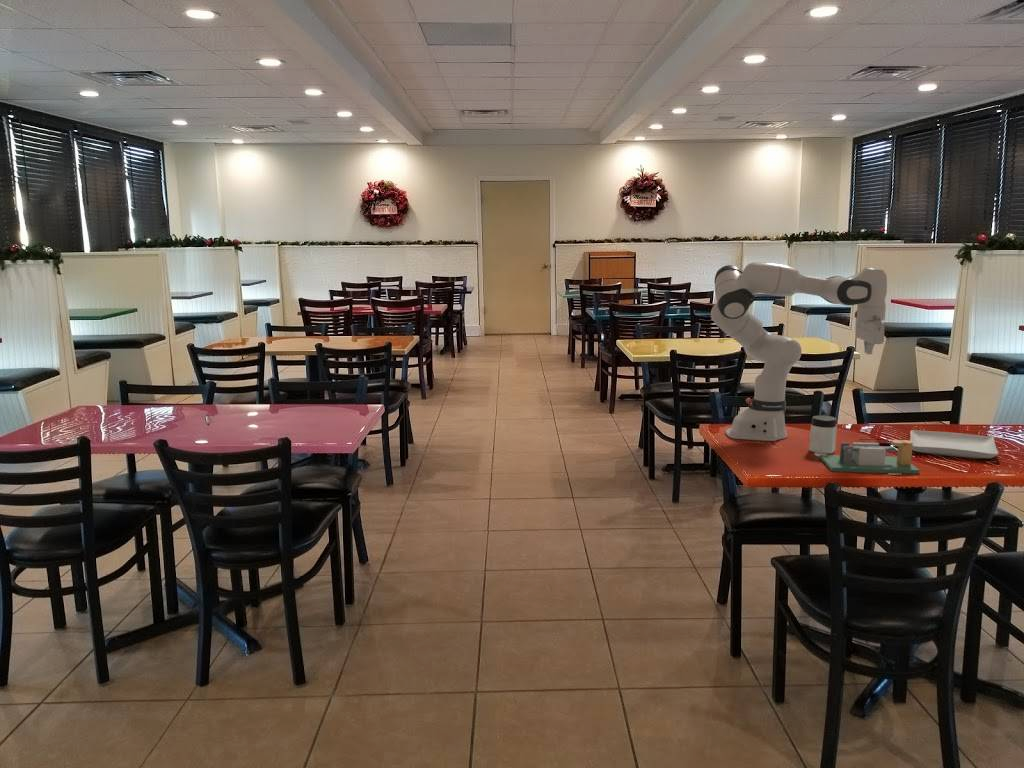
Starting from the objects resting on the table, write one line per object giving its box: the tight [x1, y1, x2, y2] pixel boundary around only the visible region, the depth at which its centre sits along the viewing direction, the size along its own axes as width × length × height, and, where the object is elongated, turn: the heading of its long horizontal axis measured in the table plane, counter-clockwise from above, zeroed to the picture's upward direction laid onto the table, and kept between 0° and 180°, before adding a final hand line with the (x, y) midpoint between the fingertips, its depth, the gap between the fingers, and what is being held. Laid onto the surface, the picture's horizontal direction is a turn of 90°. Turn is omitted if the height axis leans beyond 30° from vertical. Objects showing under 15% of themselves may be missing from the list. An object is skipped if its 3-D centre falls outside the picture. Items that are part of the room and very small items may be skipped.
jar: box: [809, 415, 838, 455], centre depth 282 cm, size 9×8×12 cm
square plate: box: [909, 429, 999, 460], centre depth 284 cm, size 27×27×4 cm
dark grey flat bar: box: [842, 445, 897, 453], centre depth 263 cm, size 16×3×1 cm, turn 83°
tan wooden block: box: [889, 439, 913, 465], centre depth 261 cm, size 6×4×7 cm
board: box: [818, 441, 921, 475], centre depth 263 cm, size 27×16×7 cm, turn 83°
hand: (868, 353), depth 281 cm, fingers closed
